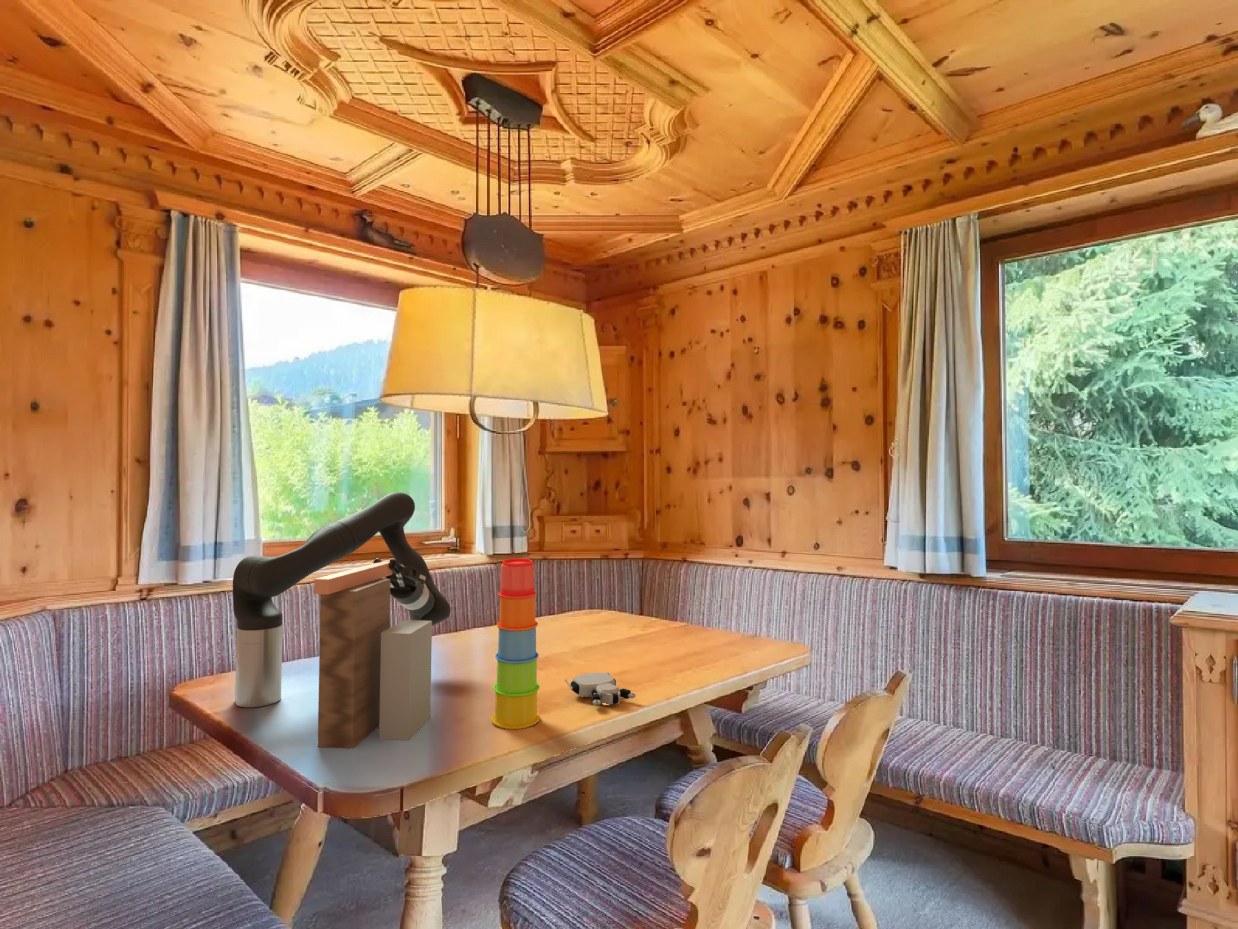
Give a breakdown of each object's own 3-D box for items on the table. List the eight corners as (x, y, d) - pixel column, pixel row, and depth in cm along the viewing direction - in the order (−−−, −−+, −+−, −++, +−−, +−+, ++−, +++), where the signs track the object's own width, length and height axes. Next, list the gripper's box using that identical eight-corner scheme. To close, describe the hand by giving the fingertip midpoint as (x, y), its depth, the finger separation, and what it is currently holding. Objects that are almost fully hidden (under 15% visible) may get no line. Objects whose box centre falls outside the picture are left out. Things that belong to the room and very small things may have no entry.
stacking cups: (549, 719, 146) (551, 558, 146) (517, 733, 137) (519, 563, 138) (514, 709, 152) (516, 555, 152) (481, 722, 143) (483, 559, 144)
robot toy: (638, 708, 156) (605, 685, 169) (639, 688, 156) (606, 668, 169) (593, 717, 150) (562, 693, 162) (594, 697, 150) (563, 675, 162)
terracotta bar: (314, 594, 126) (314, 579, 126) (380, 574, 152) (380, 561, 152) (328, 594, 126) (328, 579, 126) (392, 574, 152) (392, 562, 152)
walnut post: (317, 746, 130) (320, 590, 130) (356, 717, 145) (359, 578, 146) (352, 748, 129) (355, 591, 130) (388, 718, 145) (390, 578, 145)
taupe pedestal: (379, 739, 134) (381, 632, 134) (403, 717, 146) (405, 620, 146) (408, 740, 133) (410, 633, 134) (430, 718, 145) (431, 620, 146)
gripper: (385, 575, 167) (357, 546, 153) (440, 576, 166) (417, 547, 152) (378, 604, 164) (348, 577, 149) (434, 605, 162) (410, 579, 148)
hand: (383, 562), depth 150 cm, fingers closed on terracotta bar, 3 cm apart
